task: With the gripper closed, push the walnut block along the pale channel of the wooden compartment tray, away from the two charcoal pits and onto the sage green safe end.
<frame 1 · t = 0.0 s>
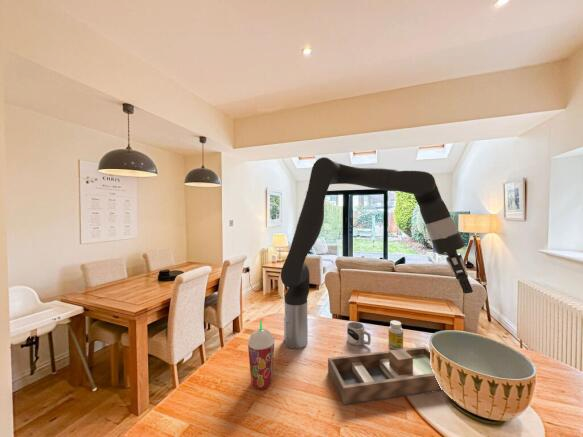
hand: (467, 288, 71), 31 cm above the table, tool tilted 20°, fingers open, 8 cm apart
mug: (359, 343, 100), on the table
supplement bottle: (395, 346, 97), on the table
smoothie: (262, 383, 78), on the table
wooden compartment tray: (389, 380, 79), on the table
walnut block: (400, 369, 79), point 3 cm above the table, touching wooden compartment tray
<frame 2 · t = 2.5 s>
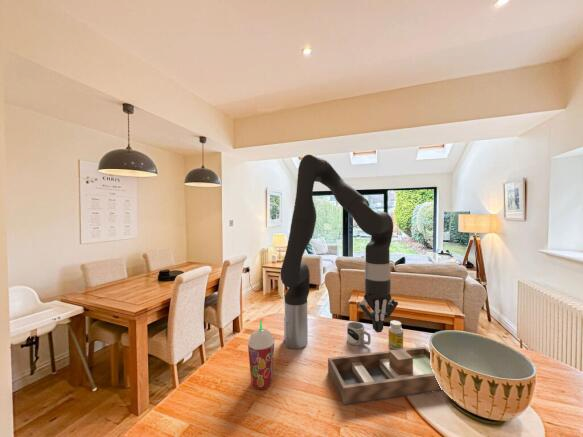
hand: (377, 331, 77), 16 cm above the table, tool pointing down, fingers closed
nothing on the table moved.
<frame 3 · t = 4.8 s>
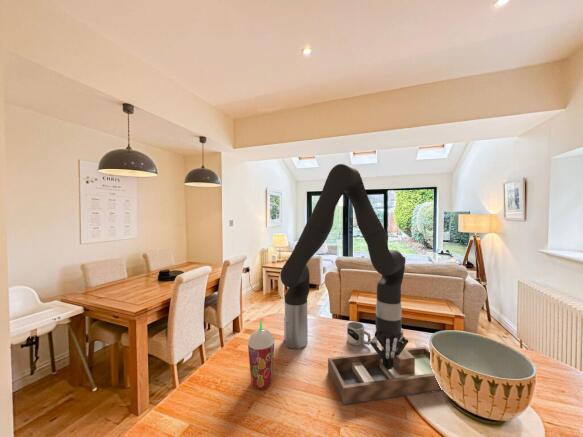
hand: (387, 367, 78), 4 cm above the table, tool pointing down, fingers closed
walnut block: (402, 369, 79), point 3 cm above the table, touching gripper
everything else where it was.
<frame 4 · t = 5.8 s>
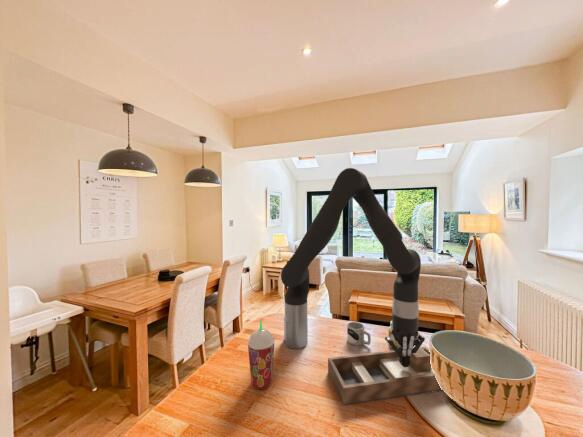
hand: (404, 365, 79), 4 cm above the table, tool pointing down, fingers closed
walnut block: (418, 367, 80), point 3 cm above the table, touching gripper
everything else where it was.
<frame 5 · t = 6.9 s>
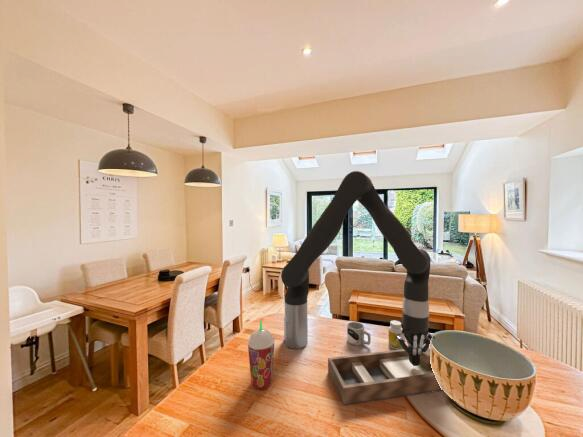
hand: (414, 364, 80), 4 cm above the table, tool pointing down, fingers closed
walnut block: (428, 365, 81), point 3 cm above the table, touching gripper, wooden compartment tray
everything else where it was.
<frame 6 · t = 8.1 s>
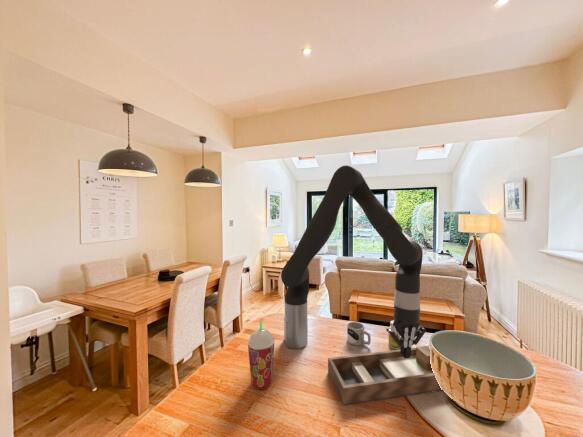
hand: (405, 356, 79), 7 cm above the table, tool pointing down, fingers closed
walnut block: (428, 365, 81), point 3 cm above the table, touching wooden compartment tray
everything else where it was.
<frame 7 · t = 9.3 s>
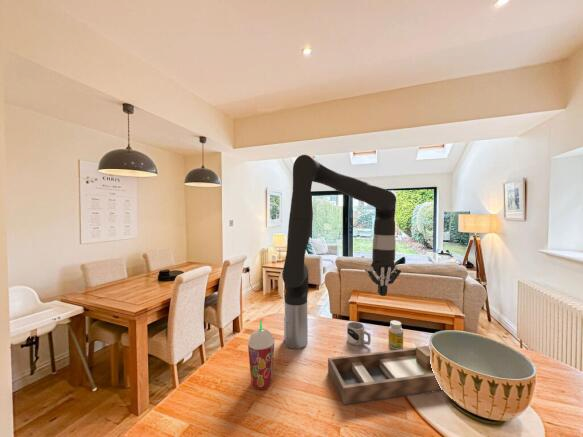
hand: (382, 295, 88), 24 cm above the table, tool pointing down, fingers closed
nothing on the table moved.
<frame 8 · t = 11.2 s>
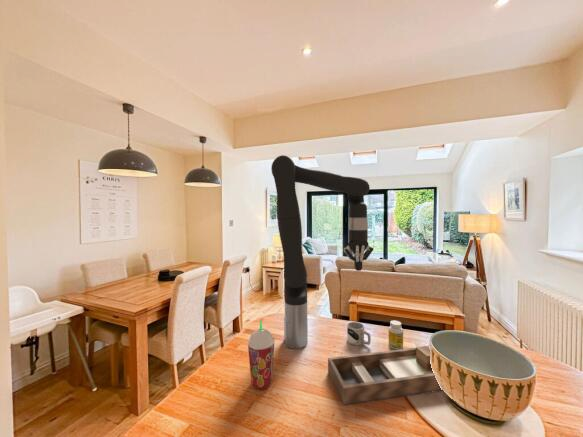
hand: (358, 270, 102), 29 cm above the table, tool pointing down, fingers closed
nothing on the table moved.
at the end: walnut block inside the target area (0.2 cm from its centre), point 3.0 cm above the table; walnut block tilted 0° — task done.
